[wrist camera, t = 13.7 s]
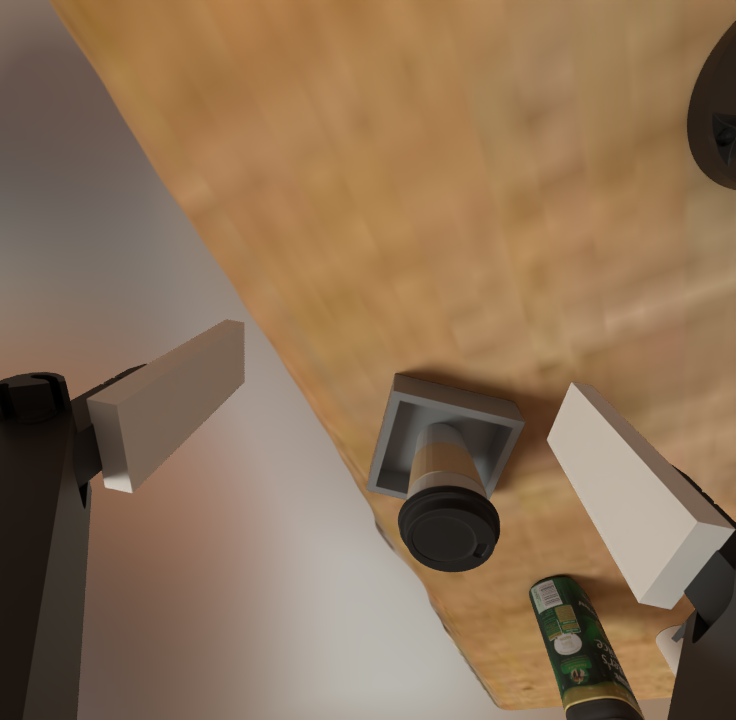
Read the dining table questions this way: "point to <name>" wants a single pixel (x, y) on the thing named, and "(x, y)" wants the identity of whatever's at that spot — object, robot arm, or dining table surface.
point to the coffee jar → (581, 654)
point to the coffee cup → (447, 505)
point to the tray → (447, 406)
